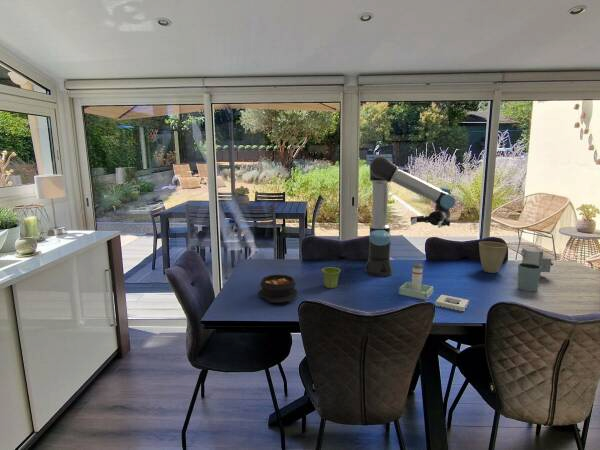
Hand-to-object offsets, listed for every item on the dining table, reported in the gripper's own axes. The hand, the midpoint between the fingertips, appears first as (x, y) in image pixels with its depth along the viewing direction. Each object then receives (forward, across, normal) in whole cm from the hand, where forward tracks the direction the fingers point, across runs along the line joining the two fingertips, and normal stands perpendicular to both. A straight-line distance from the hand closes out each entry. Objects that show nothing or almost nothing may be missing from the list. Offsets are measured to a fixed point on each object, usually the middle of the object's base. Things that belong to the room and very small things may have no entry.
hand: (425, 223), depth 197 cm
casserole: (+56, +51, -32) cm, 82 cm away
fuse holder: (+20, -20, -32) cm, 43 cm away
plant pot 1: (+30, +37, -32) cm, 57 cm away
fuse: (+15, -2, -31) cm, 35 cm away
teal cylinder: (-24, -46, -32) cm, 61 cm away
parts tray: (+15, -2, -32) cm, 35 cm away
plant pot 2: (-45, -26, -32) cm, 61 cm away
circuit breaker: (-49, -48, -32) cm, 76 cm away
